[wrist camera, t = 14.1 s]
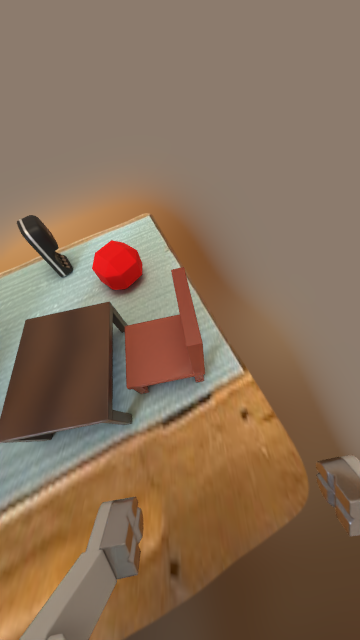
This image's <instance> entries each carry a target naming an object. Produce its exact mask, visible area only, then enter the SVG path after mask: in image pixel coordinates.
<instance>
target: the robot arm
mask: <svg viewBox="0 0 360 640" xmlns="http://www.w3.org/2000/svg"><path fill="white" fill-rule="evenodd" d="M316 468H317V470H318V471H319V473H318V474H317V483H318V485H319V488H320V490H321V492H322V494H323V496H324V497H325V499H326V501H327V502H328V503H329V504H331V505H332V506H333V507H335V508H336V516H337V518H338V519H339V521H340V522H341V523H342V525H343V527H344V528H345V530H346V531H347V533H348V534H349V536H356V535H360V461H359V460H358V459H357V458H356V457H355V456H353V455H347V456H343V457H336V458H331V459H326V460H322V461H317V463H316ZM142 536H143V514H142V511H141V509H140V508H139V507H138V500H137V498H136V497H131V498H125V499H120V500H113V501H108V502H103V503H102V504H101V506H100V508H99V511H98V514H97V517H96V520H95V524H94V527H93V530H92V533H91V536H90V539H89V543H88V546H87V549H86V552H85V553H82V554H81V555H80V557H79V558H78V559H77V561H76V562H75V563H74V565H73V566H72V568H71V569H70V570H69V572H68V573H67V574H66V576H65V577H64V579H63V580H62V581H61V583H60V584H59V585H58V587H57V588H56V590H55V591H54V592H53V594H52V595H51V596H50V598H49V599H48V601H47V602H46V603H45V605H44V606H43V607H42V609H41V610H40V612H39V613H38V614H37V616H36V617H35V618H34V620H33V621H32V623H31V624H30V625H29V627H28V628H27V630H26V631H25V632H24V634H23V635H22V636H21V638H20V639H19V640H89V638H90V636H91V633H92V631H93V629H94V627H95V625H96V623H97V621H98V619H99V617H100V615H101V613H102V611H103V609H104V607H105V605H106V603H107V601H108V599H109V597H110V595H111V593H112V591H113V589H114V586H115V584H116V582H117V580H116V579H121V578H125V577H130V576H134V575H138V569H139V561H140V553H141V551H140V548H139V546H138V544H139V542H140V540H141V539H142Z"/></svg>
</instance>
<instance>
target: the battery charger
mask: <svg viewBox="0 0 360 640" xmlns="http://www.w3.org/2000/svg"><path fill="white" fill-rule="evenodd" d="M17 224H18V227H19V229H20V232H21V234H22V235H23V236H24V238H25V239H26V240H27V241H28V243H29V244H30V245H31V246H32V247H33V248H34V249H35V250H36V251H37V252H38V253H39V254H40V255H41V256H42V258H43V259H44V260H45V261H46V262H47V263H48V264H49V265H50V266H51V267H52V268H53V269H54V270H55V271H56V272H57V273H58V274H59V275H60V276H61V277H64V276H66V275H68V274H69V273H71V272H72V270H73V268H72V266H71V264H70V262H69V261H68V259H67V257H66V256H64V255H61V254H59V253H57V252H55V251H56V250H57V249H58V245H57V242H56V240H55V239H54V237H53V235H52V234H51V232H50V231H49V230H48V229H47V227H46V226H45V225H44V224H43V223H42V222H41V221H40V219H39V218H38V217H36V216H33V215H30V216H27V217H25V218H23V219H19V221H17Z"/></svg>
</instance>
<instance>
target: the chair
mask: <svg viewBox="0 0 360 640" xmlns="http://www.w3.org/2000/svg"><path fill="white" fill-rule="evenodd" d="M171 272H172V277H173V282H174V287H175V292H176V297H177V302H178V307H179V312H180V315H175V316H171V317H166V318H161V319H157V320H152V321H147V322H142V323H138V324H133V325H128V326H125V351H126V382H127V388H128V389H134V390H136V391H137V392H139V393H141V394H142V393H147V392H149V390H148V386H149V385H154V384H159V383H164V382H169V381H174V380H178V379H183V378H188V377H193V376H195V380H196V382H201V381H204V376H203V374H205V367H204V355H203V343H202V339H201V335H200V331H199V327H198V323H197V318H196V314H195V310H194V306H193V302H192V298H191V294H190V290H189V286H188V282H187V278H186V274H185V270H184V267H182V268H178V269H173V270H171Z"/></svg>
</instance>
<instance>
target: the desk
mask: <svg viewBox="0 0 360 640" xmlns="http://www.w3.org/2000/svg"><path fill="white" fill-rule="evenodd" d="M113 323H114V324H115V326H116V327H117V328H118V329H119V330H120V331H121V332H122V333H123V332H125V326H128V325H127V324H126V323H125V321H124V320H123V319H122V317H121V316H120V315H119V313H118V312H117V311H116V309H115V308H114V307H113V306H112V304H111V303H110V302H106V303H101V304H96V305H92V306H87V307H83V308H78V309H73V310H69V311H64V312H60V313H55V314H50V315H46V316H41V317H37V318H32V319H27V320H26V321H25V325H24V329H23V333H22V336H21V340H20V344H19V348H18V352H17V356H16V360H15V364H14V367H13V371H12V375H11V379H10V383H9V387H8V391H7V395H6V398H5V402H4V406H3V410H2V414H1V418H0V443H7V442H32V441H47V440H51V439H52V434H53V433H54V432H59V431H64V430H69V429H74V428H79V427H84V426H89V425H94V424H99V423H111V424H120V425H127V424H132V415H131V414H128V413H124V412H120V411H116V410H112V396H113Z"/></svg>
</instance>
